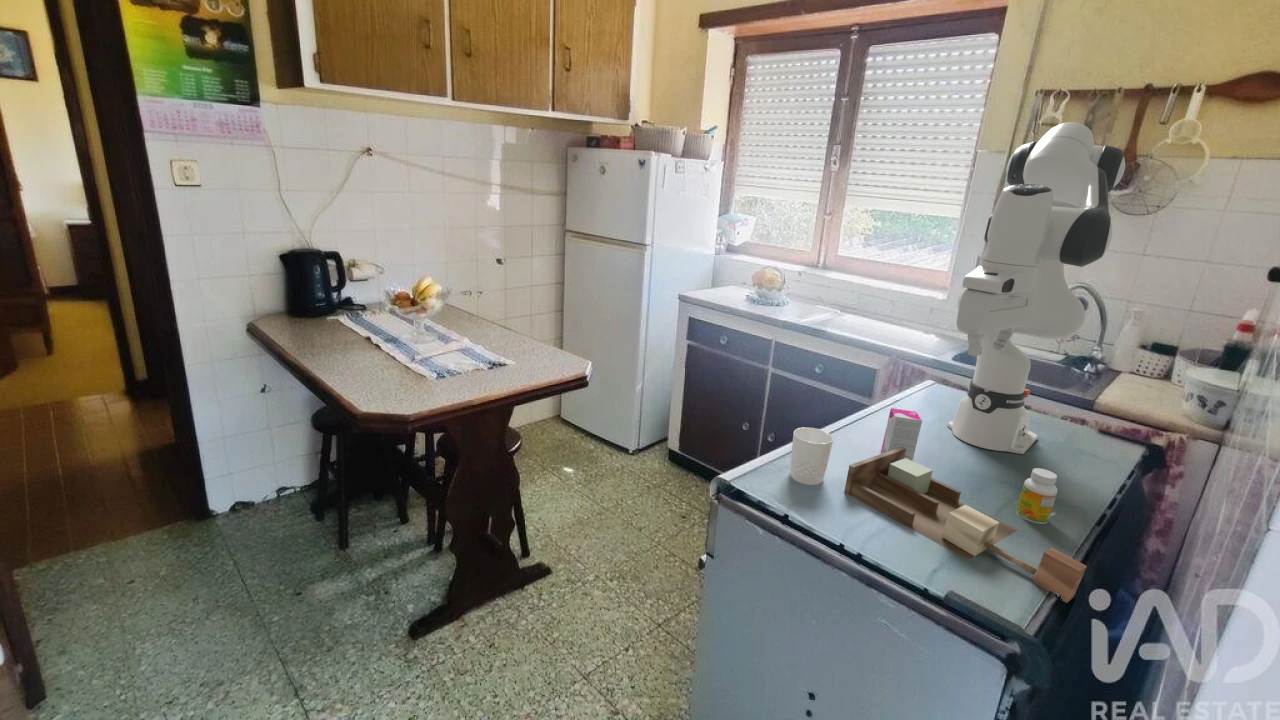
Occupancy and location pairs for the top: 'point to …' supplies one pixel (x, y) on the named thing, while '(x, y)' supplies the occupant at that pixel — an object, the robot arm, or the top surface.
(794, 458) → the white cup
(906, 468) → the sage block
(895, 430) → the supplement box
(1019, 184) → the robot arm
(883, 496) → the walnut rack
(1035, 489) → the supplement bottle
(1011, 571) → the top surface
